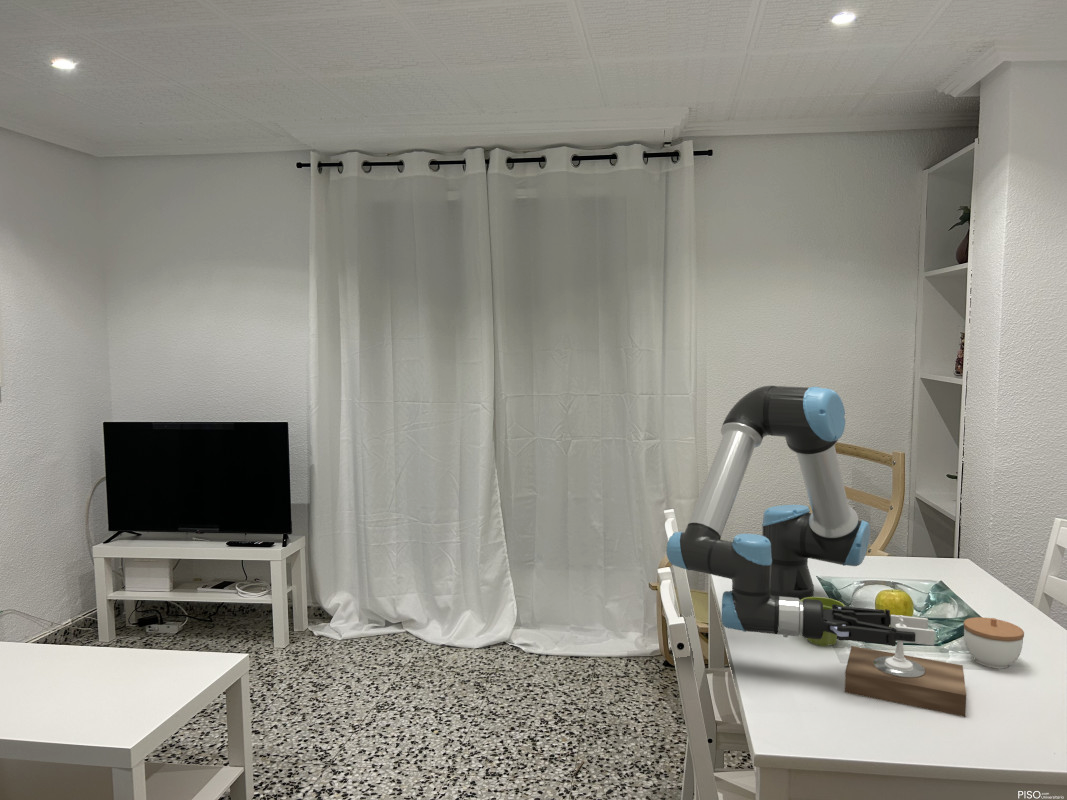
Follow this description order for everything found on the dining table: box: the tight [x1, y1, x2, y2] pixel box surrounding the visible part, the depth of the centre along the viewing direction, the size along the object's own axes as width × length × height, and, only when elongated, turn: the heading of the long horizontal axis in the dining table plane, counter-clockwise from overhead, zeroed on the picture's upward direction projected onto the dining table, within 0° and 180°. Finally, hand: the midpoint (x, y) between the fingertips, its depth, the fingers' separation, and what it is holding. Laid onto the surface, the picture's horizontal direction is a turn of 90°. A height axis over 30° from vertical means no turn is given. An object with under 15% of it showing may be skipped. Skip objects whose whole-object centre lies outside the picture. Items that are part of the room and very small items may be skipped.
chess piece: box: [885, 614, 913, 672], centre depth 143 cm, size 5×5×10 cm
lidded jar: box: [963, 616, 1025, 670], centre depth 155 cm, size 11×11×9 cm
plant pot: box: [800, 596, 846, 647], centre depth 166 cm, size 9×9×9 cm
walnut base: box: [844, 645, 967, 718], centre depth 143 cm, size 14×20×4 cm
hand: (930, 631), depth 142 cm, fingers open, 5 cm apart
